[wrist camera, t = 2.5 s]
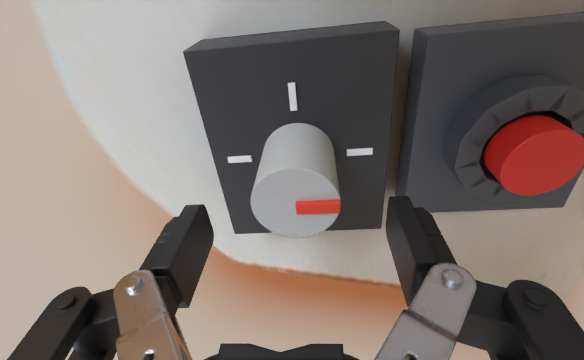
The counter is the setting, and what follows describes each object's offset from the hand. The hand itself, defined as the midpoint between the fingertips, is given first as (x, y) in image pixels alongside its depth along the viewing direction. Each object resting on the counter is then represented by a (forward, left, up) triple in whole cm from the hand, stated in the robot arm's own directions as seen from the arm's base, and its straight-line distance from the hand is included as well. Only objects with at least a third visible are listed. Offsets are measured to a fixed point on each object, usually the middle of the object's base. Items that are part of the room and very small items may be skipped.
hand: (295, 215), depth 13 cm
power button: (0, +11, -4) cm, 12 cm away
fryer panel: (0, 0, -8) cm, 8 cm away
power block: (0, +11, -8) cm, 14 cm away
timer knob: (0, 0, -5) cm, 5 cm away
